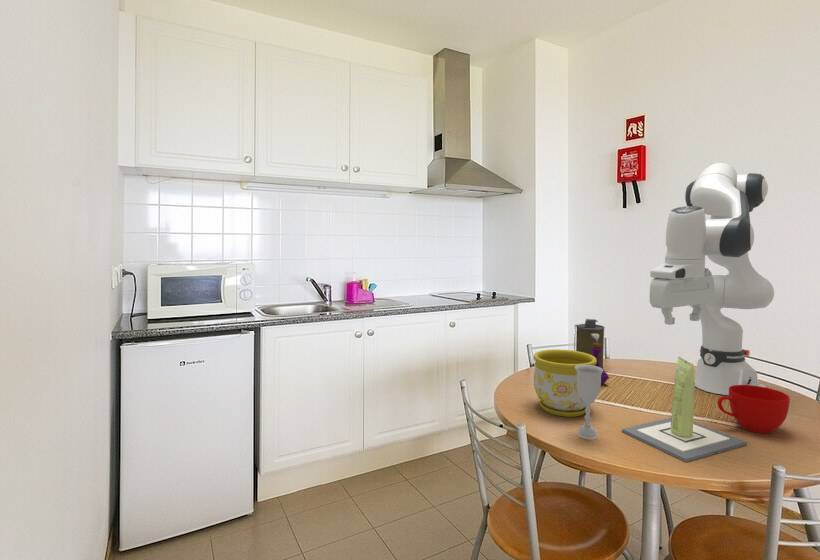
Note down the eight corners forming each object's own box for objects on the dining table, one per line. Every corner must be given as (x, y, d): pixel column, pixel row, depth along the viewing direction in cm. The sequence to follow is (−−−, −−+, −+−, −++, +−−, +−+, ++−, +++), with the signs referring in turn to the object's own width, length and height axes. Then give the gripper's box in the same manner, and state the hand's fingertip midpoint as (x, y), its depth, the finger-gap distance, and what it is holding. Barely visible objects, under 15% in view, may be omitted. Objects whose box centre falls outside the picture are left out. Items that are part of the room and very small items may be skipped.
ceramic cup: (702, 418, 127) (703, 384, 126) (762, 418, 126) (764, 384, 125) (733, 438, 114) (735, 401, 113) (801, 439, 113) (803, 401, 112)
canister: (600, 366, 180) (602, 317, 178) (605, 373, 170) (607, 322, 168) (572, 365, 182) (573, 317, 181) (575, 372, 172) (576, 321, 171)
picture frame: (679, 418, 127) (679, 414, 127) (746, 444, 110) (746, 440, 110) (621, 431, 119) (621, 427, 119) (685, 462, 102) (685, 457, 102)
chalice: (568, 430, 120) (570, 365, 119) (592, 428, 121) (594, 364, 119) (581, 442, 113) (582, 373, 111) (606, 440, 113) (608, 372, 112)
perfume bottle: (609, 386, 155) (610, 336, 154) (587, 386, 155) (588, 336, 154) (600, 379, 163) (601, 331, 161) (579, 380, 163) (580, 331, 161)
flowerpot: (571, 396, 146) (573, 347, 145) (608, 417, 129) (610, 361, 127) (522, 401, 142) (522, 351, 140) (553, 423, 124) (554, 366, 123)
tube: (699, 435, 114) (702, 360, 112) (690, 440, 111) (693, 363, 109) (675, 427, 118) (678, 356, 117) (666, 432, 115) (669, 359, 114)
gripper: (699, 266, 121) (697, 316, 123) (645, 271, 114) (643, 324, 115) (723, 268, 115) (720, 320, 117) (668, 272, 108) (666, 328, 109)
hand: (682, 322), depth 116 cm, fingers open, 8 cm apart
